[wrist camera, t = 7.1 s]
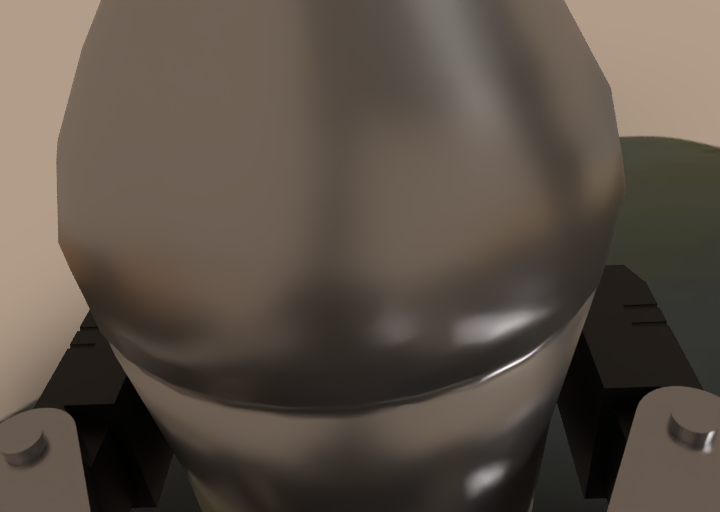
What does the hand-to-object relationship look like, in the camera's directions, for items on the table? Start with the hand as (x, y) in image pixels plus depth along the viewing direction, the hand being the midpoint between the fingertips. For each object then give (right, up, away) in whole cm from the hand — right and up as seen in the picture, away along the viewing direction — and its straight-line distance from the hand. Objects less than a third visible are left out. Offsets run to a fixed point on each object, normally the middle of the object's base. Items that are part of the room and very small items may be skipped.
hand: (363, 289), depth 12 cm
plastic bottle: (+1, -11, +4) cm, 11 cm away
